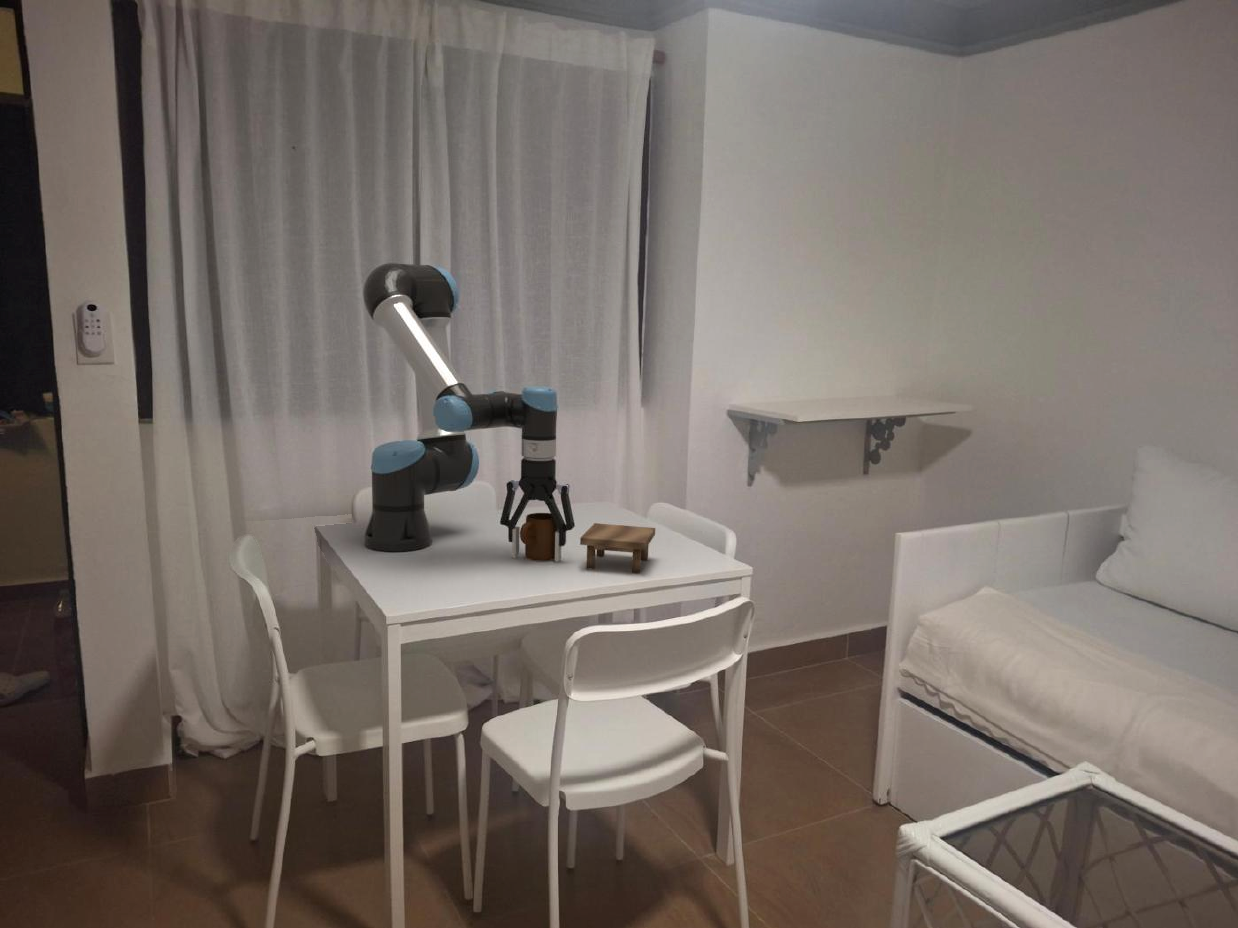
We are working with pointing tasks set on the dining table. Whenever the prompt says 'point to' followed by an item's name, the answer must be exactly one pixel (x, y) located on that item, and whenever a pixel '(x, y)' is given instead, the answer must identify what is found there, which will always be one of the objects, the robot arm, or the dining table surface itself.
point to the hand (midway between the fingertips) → (536, 558)
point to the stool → (617, 542)
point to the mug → (539, 536)
